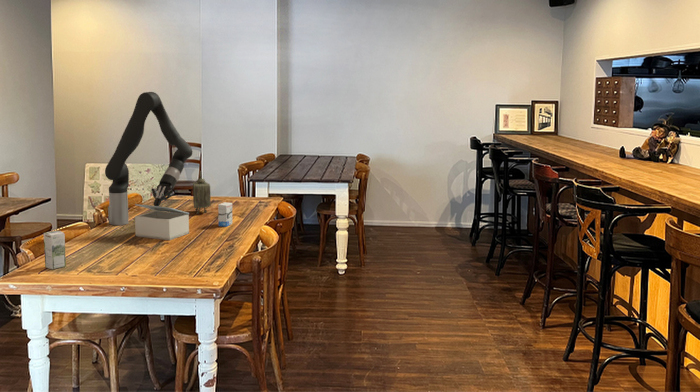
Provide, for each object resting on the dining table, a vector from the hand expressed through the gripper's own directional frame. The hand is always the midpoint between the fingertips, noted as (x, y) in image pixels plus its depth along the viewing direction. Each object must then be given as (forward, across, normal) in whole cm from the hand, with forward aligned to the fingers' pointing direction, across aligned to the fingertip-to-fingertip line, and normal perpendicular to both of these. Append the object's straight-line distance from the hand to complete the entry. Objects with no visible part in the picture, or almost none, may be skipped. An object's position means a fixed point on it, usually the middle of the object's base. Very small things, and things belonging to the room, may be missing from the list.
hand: (155, 205), depth 299 cm
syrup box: (+53, -4, -30) cm, 61 cm away
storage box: (+7, 0, +15) cm, 16 cm away
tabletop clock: (-32, -14, +54) cm, 65 cm away
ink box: (-16, +16, +38) cm, 44 cm away
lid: (-2, 0, +6) cm, 6 cm away
